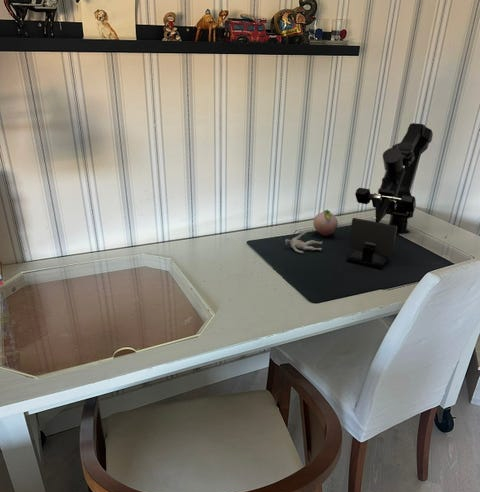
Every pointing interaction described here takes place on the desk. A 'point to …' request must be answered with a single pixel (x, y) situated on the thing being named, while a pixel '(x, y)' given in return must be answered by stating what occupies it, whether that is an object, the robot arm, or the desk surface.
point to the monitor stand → (368, 258)
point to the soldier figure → (302, 244)
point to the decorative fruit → (325, 223)
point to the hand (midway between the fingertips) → (377, 222)
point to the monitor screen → (372, 236)
